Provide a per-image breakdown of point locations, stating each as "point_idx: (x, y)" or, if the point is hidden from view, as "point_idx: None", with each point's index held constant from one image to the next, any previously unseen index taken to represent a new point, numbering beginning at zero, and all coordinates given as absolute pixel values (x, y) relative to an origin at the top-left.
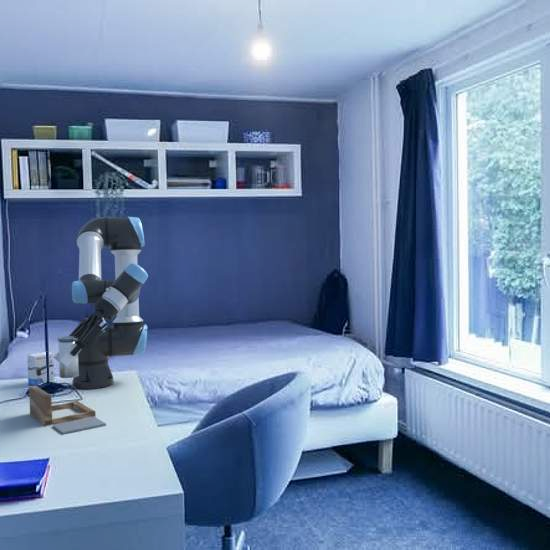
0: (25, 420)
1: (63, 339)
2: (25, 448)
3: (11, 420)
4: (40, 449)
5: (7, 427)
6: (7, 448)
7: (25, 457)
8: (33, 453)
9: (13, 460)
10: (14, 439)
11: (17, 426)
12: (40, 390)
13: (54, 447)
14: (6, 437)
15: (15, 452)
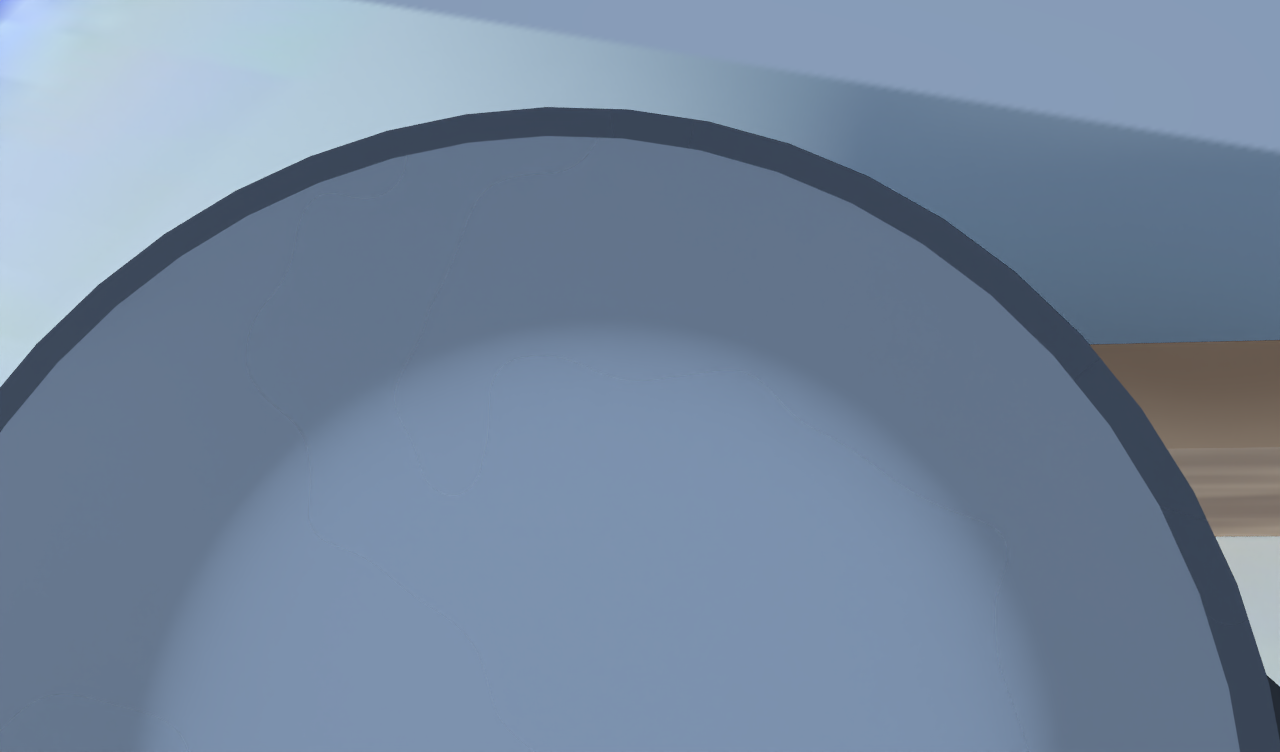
0: (1148, 339)
1: (95, 301)
2: (212, 131)
3: (1247, 215)
4: (91, 223)
5: (981, 129)
6: (324, 16)
7: (7, 85)
8: (44, 154)
9: (17, 3)
10: (527, 107)
11: (951, 217)
12: (1225, 411)
13: (46, 332)
14: (639, 62)
15: (179, 48)
